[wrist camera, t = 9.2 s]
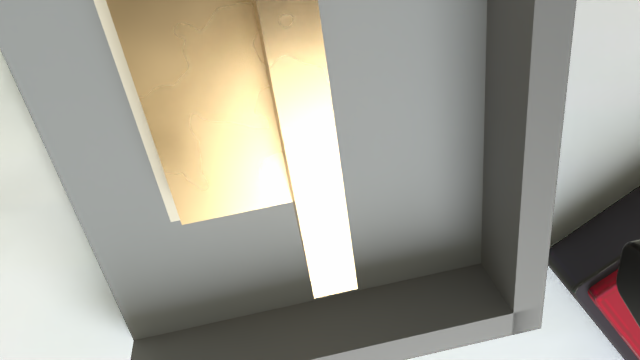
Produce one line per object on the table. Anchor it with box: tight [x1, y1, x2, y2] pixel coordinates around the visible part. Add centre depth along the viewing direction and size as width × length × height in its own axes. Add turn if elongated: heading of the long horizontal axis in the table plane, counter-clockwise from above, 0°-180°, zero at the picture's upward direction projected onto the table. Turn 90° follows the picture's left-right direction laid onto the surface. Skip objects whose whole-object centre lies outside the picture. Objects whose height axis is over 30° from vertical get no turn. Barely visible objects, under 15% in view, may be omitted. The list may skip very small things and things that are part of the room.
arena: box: [0, 0, 576, 360], centre depth 18 cm, size 16×18×4 cm
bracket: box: [106, 0, 358, 298], centre depth 15 cm, size 8×5×6 cm, turn 8°
